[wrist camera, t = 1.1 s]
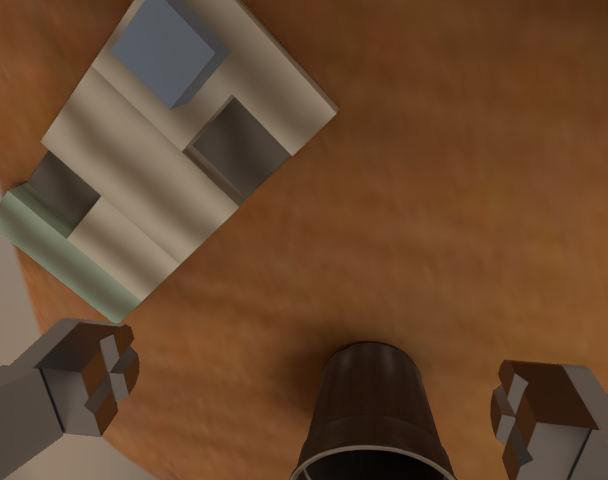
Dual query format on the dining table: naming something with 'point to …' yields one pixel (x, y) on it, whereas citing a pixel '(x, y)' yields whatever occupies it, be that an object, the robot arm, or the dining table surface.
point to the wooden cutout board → (159, 162)
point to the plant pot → (372, 421)
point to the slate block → (170, 50)
